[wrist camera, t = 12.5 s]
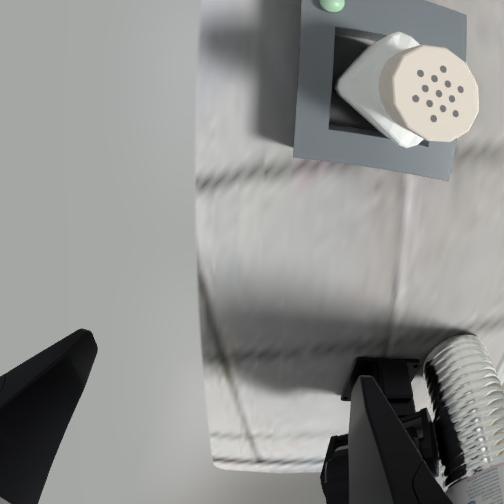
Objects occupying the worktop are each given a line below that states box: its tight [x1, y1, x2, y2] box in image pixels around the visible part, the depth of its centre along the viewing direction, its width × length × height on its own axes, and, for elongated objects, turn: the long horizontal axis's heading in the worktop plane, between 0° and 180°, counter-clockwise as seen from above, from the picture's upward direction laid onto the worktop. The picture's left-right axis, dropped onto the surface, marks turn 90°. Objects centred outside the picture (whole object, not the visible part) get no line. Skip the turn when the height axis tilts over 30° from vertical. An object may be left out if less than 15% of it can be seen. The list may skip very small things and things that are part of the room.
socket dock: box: [293, 0, 467, 182], centre depth 14 cm, size 10×9×3 cm
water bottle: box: [423, 334, 504, 504], centre depth 14 cm, size 7×7×25 cm
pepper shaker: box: [334, 31, 479, 148], centre depth 12 cm, size 4×4×10 cm
